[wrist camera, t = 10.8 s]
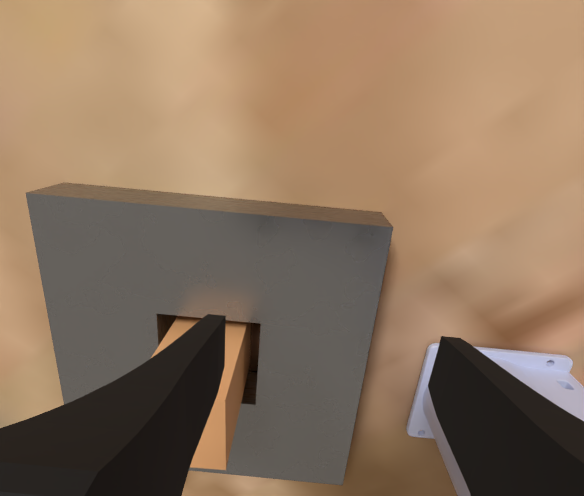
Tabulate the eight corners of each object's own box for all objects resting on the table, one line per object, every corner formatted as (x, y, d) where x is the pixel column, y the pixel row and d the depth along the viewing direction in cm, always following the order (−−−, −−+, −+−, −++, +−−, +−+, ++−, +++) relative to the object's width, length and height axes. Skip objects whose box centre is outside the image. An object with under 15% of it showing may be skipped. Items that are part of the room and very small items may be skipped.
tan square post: (251, 309, 23) (225, 400, 16) (250, 363, 25) (225, 470, 17) (185, 304, 23) (128, 393, 16) (188, 359, 25) (137, 463, 17)
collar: (381, 212, 21) (393, 227, 18) (338, 447, 27) (342, 485, 24) (63, 182, 21) (25, 192, 18) (98, 423, 27) (74, 459, 24)
